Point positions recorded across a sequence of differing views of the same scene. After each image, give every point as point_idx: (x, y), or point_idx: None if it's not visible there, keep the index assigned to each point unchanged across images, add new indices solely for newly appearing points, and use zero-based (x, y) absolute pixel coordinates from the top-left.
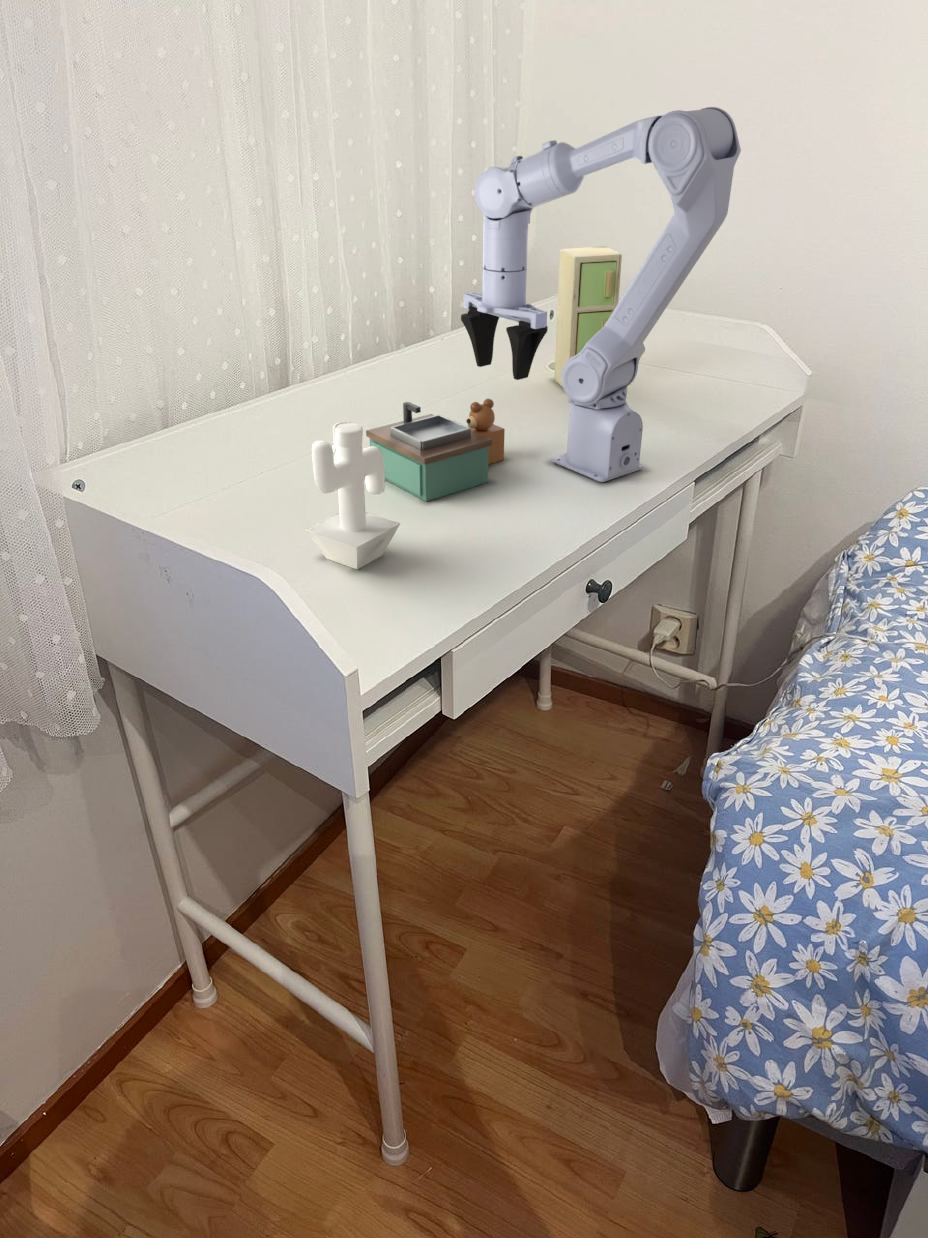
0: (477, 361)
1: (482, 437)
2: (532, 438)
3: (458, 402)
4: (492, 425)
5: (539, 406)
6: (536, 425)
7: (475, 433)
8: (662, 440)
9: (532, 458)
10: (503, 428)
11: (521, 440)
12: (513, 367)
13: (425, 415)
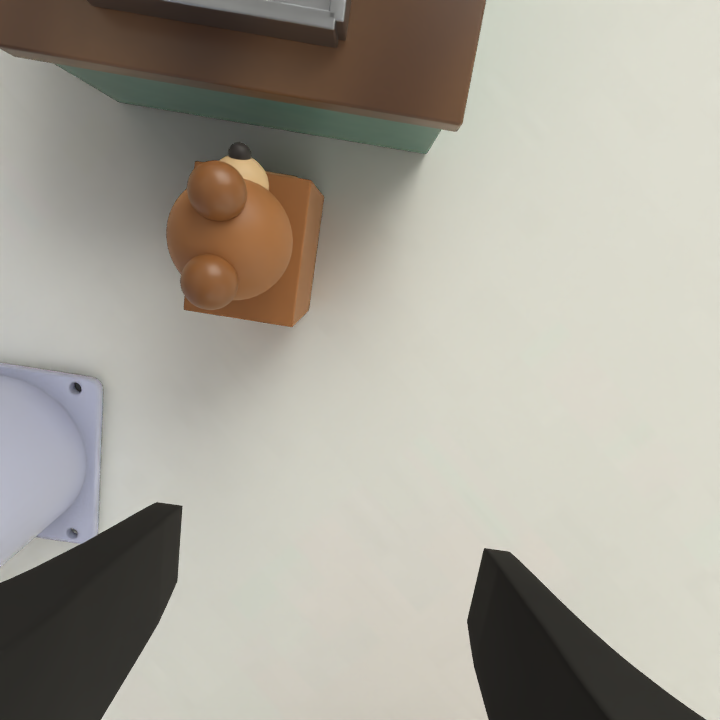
0: (507, 561)
1: (41, 30)
2: (288, 497)
3: (681, 591)
4: (244, 304)
5: (453, 708)
6: (353, 586)
7: (106, 53)
8: None
9: (171, 368)
10: (187, 307)
11: (301, 463)
12: (138, 531)
13: (467, 80)
